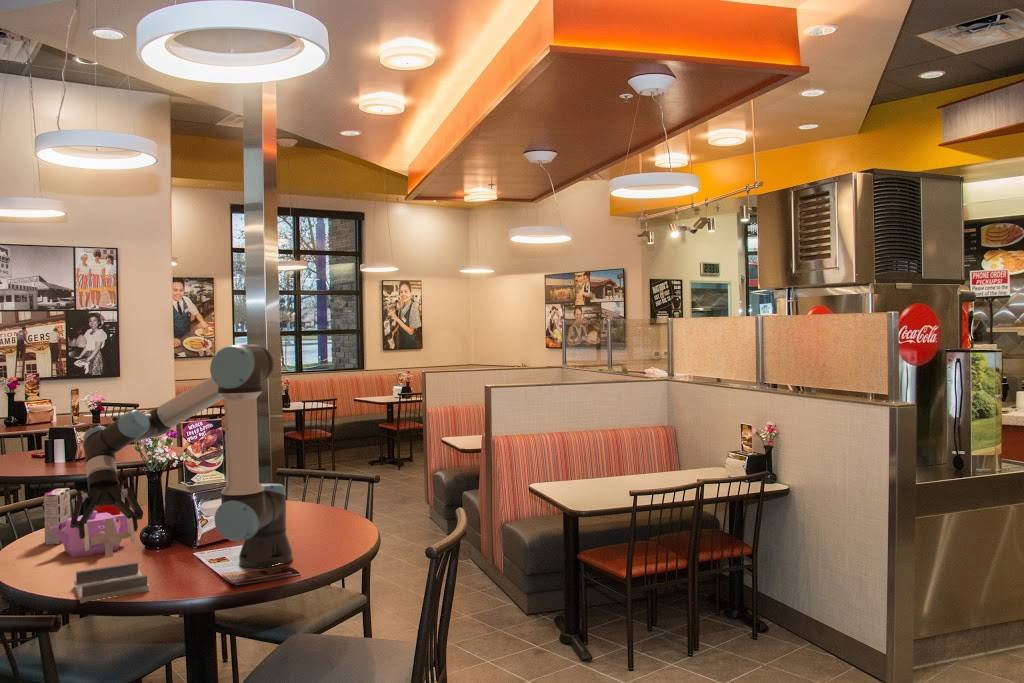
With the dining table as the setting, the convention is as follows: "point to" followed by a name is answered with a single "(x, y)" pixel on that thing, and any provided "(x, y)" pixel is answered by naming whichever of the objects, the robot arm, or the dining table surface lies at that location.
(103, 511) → the tomato
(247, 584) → the dining table surface
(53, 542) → the candy bar box
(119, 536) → the pipe connector
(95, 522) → the teakettle
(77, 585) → the cradle plate
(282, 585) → the dining table surface
